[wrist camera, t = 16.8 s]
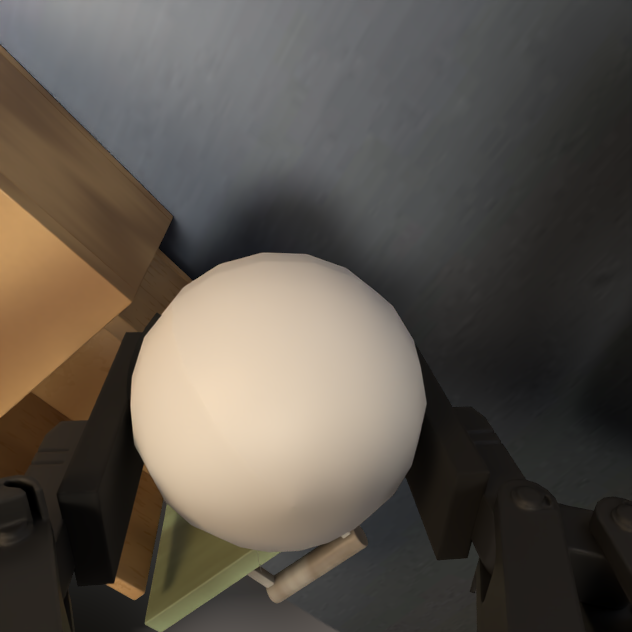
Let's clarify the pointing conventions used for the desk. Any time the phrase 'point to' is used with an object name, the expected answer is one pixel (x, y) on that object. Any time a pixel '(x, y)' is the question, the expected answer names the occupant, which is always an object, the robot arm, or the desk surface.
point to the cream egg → (276, 401)
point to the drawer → (177, 534)
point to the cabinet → (61, 234)
